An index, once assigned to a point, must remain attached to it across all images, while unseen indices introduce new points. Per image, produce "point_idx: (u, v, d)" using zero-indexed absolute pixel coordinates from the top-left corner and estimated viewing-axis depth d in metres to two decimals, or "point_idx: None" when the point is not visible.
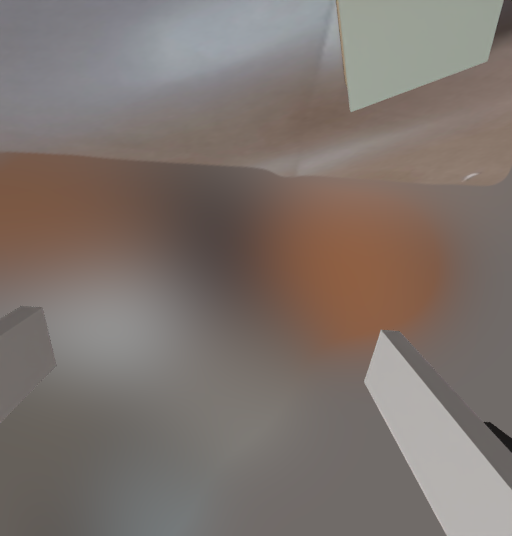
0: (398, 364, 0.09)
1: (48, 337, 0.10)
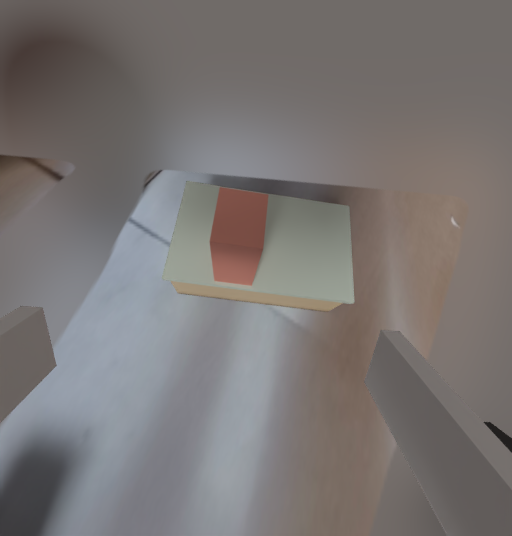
0: (399, 364, 0.09)
1: (48, 337, 0.10)
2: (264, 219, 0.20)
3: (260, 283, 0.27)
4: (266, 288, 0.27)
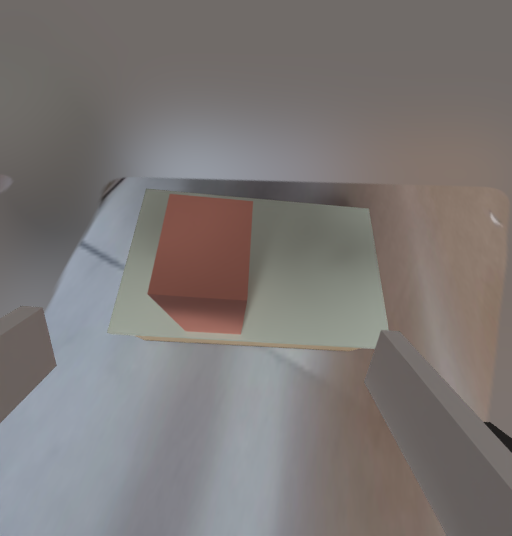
0: (399, 364, 0.09)
1: (48, 337, 0.10)
2: (247, 245, 0.11)
3: (253, 329, 0.19)
4: (262, 336, 0.19)
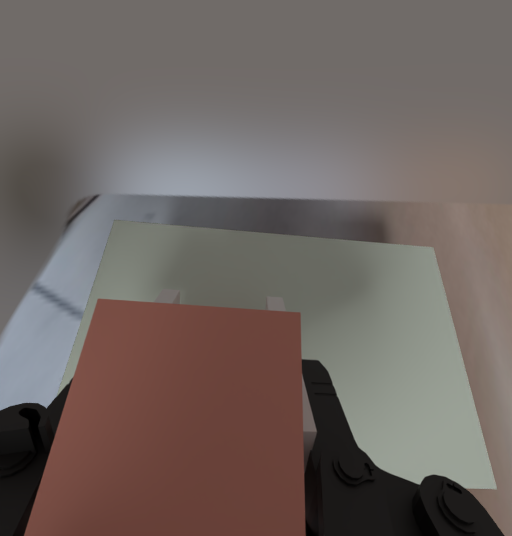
0: None
1: None
2: (296, 457, 0.04)
3: None
4: None
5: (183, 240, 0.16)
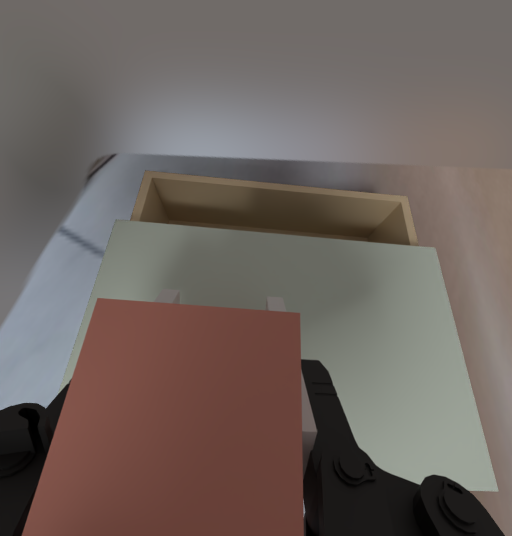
0: None
1: None
2: (294, 458, 0.04)
3: None
4: None
5: (184, 240, 0.16)
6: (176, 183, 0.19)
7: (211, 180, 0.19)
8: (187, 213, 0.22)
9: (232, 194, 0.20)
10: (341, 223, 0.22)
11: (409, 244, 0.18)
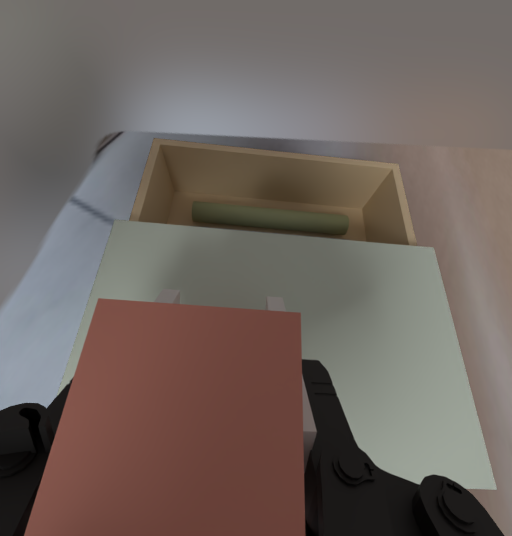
0: None
1: None
2: (296, 457, 0.04)
3: None
4: None
5: (183, 240, 0.16)
6: (183, 150, 0.20)
7: (216, 147, 0.20)
8: (192, 183, 0.24)
9: (235, 162, 0.21)
10: (337, 193, 0.24)
11: (399, 205, 0.19)
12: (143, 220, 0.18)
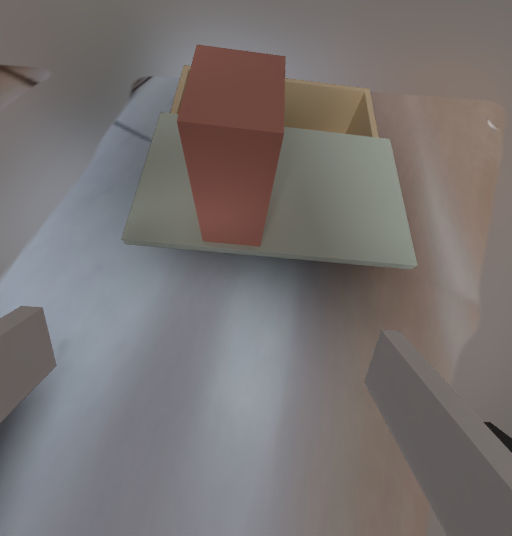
0: (398, 364, 0.09)
1: (48, 337, 0.10)
2: (281, 89, 0.11)
3: (273, 242, 0.18)
4: (282, 249, 0.18)
5: None
6: None
7: None
8: None
9: None
10: (324, 118, 0.30)
11: (368, 115, 0.26)
12: None
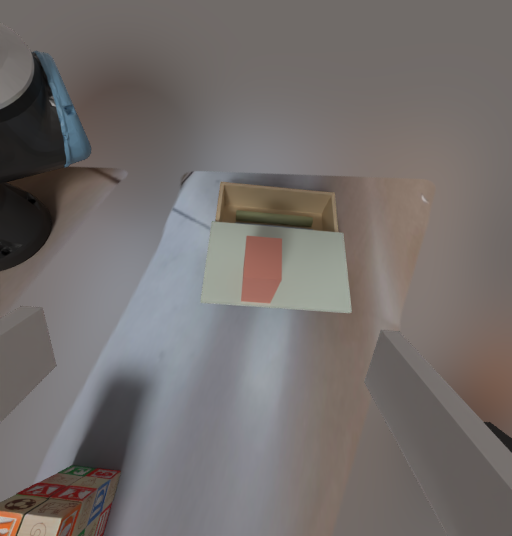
0: (398, 364, 0.09)
1: (48, 337, 0.10)
2: (280, 257, 0.28)
3: (276, 301, 0.35)
4: (281, 304, 0.35)
5: (240, 229, 0.39)
6: (233, 187, 0.44)
7: (249, 185, 0.44)
8: (234, 201, 0.47)
9: (257, 192, 0.45)
10: (307, 205, 0.47)
11: (332, 212, 0.43)
12: (219, 219, 0.41)
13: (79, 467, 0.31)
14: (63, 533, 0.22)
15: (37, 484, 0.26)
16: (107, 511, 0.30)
